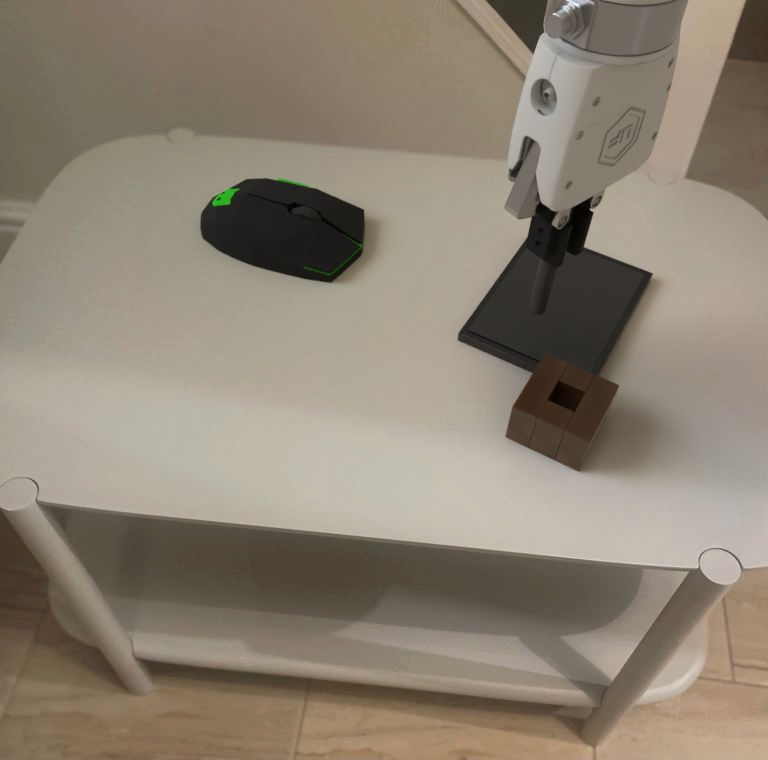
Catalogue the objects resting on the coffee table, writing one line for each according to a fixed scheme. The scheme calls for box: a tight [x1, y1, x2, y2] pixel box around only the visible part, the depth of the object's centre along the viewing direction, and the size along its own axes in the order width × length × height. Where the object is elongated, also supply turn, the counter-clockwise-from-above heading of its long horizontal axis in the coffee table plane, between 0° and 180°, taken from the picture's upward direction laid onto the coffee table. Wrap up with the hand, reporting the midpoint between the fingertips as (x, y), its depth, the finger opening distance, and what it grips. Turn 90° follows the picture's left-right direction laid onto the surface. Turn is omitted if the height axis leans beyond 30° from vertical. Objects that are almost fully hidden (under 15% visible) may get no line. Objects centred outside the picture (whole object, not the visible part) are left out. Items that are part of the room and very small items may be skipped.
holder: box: [505, 353, 620, 472], centre depth 62 cm, size 6×6×4 cm
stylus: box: [528, 206, 575, 315], centre depth 59 cm, size 1×1×12 cm
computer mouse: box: [199, 177, 365, 283], centre depth 76 cm, size 11×16×4 cm
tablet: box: [457, 237, 654, 377], centre depth 71 cm, size 12×16×1 cm
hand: (553, 249), depth 59 cm, fingers closed on stylus, 1 cm apart
